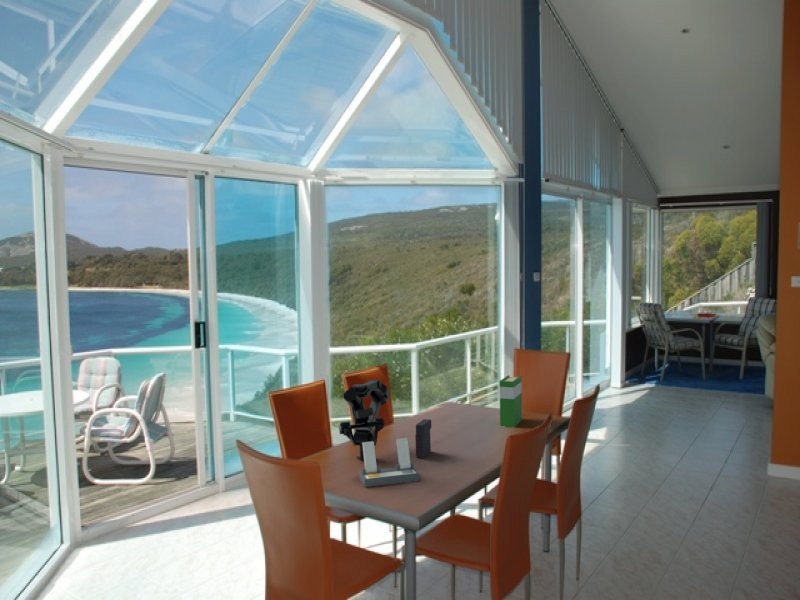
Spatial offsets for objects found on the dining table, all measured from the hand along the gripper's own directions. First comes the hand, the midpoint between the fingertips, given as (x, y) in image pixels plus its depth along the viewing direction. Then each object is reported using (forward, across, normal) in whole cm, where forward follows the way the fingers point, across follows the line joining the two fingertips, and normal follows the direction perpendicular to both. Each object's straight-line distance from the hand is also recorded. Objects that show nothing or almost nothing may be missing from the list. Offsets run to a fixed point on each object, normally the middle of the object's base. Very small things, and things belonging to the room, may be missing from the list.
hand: (365, 444), depth 261 cm
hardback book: (-26, +91, +48) cm, 106 cm away
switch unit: (+16, +6, +1) cm, 17 cm away
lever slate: (+13, +14, -2) cm, 19 cm away
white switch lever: (+12, 0, -2) cm, 13 cm away
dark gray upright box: (-1, +30, +20) cm, 36 cm away
